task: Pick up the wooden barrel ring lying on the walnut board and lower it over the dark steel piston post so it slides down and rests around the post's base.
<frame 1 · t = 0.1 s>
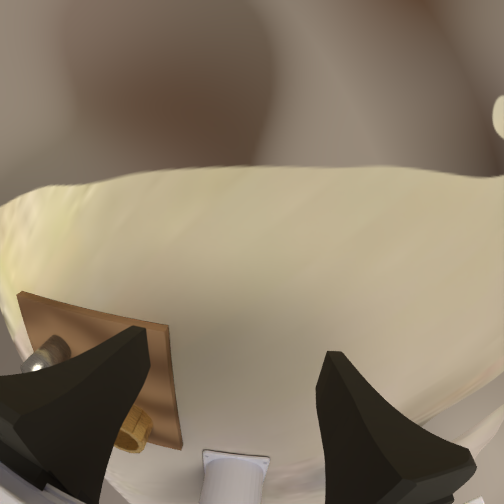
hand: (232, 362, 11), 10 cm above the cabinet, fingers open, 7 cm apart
wooden barrel ring: (130, 416, 25), point 1 cm above the cabinet, touching walnut board
steel piston: (65, 341, 24), resting on walnut board
walnut board: (98, 378, 25), on the cabinet
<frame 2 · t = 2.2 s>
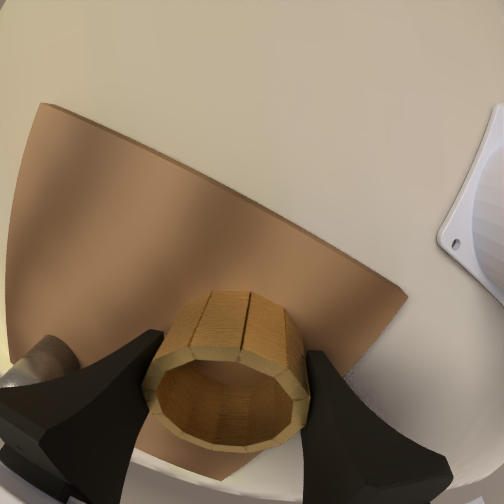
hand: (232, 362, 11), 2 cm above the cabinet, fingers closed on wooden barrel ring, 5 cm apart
wooden barrel ring: (235, 348, 11), point 1 cm above the cabinet, touching gripper, walnut board
steel piston: (68, 347, 14), resting on walnut board
walnut board: (137, 345, 13), on the cabinet
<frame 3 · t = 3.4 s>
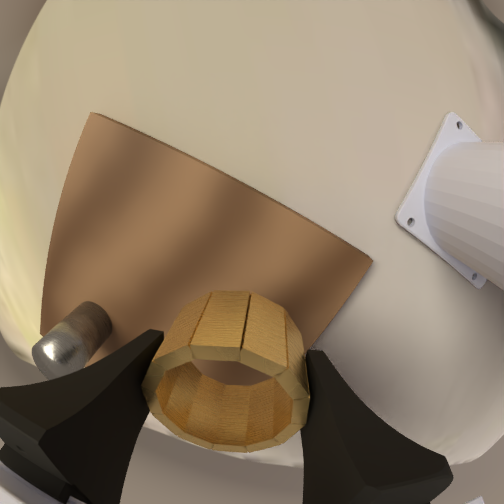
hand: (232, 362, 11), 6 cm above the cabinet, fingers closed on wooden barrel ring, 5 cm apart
wooden barrel ring: (235, 348, 11), point 5 cm above the cabinet, touching gripper
steel piston: (101, 313, 18), resting on walnut board
walnut board: (163, 305, 17), on the cabinet
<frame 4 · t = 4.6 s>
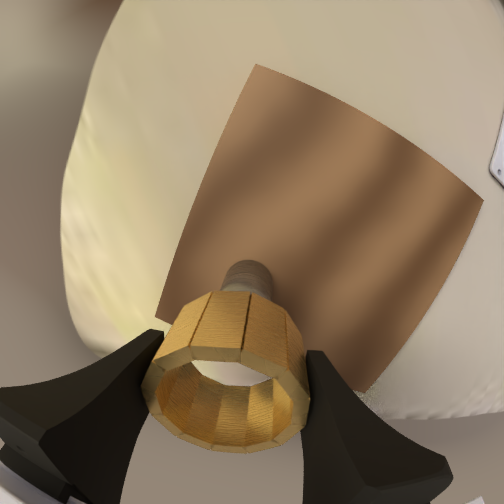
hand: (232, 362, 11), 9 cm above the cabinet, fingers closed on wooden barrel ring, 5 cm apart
wooden barrel ring: (235, 349, 11), point 8 cm above the cabinet, touching gripper
steel piston: (249, 276, 19), resting on walnut board
walnut board: (327, 254, 18), on the cabinet
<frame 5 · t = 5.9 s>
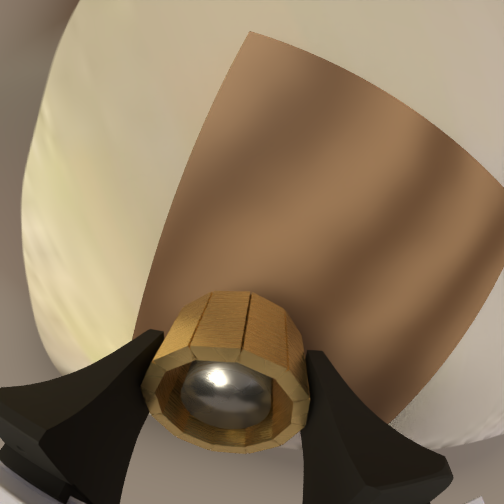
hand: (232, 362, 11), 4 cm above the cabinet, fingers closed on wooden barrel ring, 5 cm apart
wooden barrel ring: (235, 349, 11), point 3 cm above the cabinet, touching gripper
steel piston: (243, 310, 15), resting on walnut board
walnut board: (344, 283, 14), on the cabinet
when the fingers open (4 cm above the cabinet, at t = 7.0 s): wooden barrel ring drops 2 cm, resting on walnut board.
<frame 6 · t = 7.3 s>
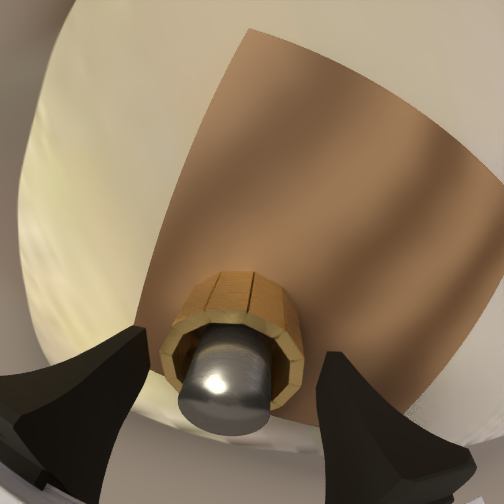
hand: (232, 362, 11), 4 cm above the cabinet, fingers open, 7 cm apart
wooden barrel ring: (239, 323, 13), point 1 cm above the cabinet, touching walnut board
steel piston: (242, 313, 14), resting on walnut board
walnut board: (345, 286, 13), on the cabinet
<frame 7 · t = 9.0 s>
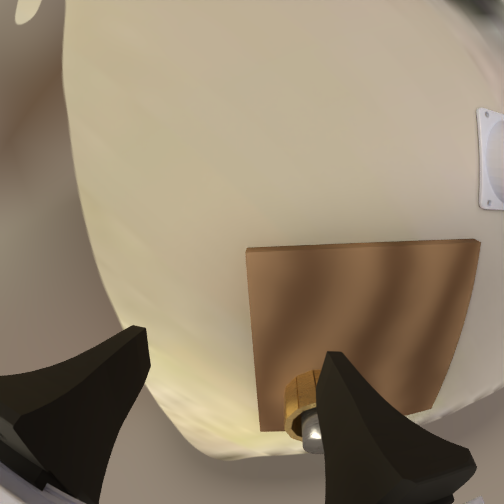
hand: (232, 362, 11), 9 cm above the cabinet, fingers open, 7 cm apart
wooden barrel ring: (316, 392, 21), point 1 cm above the cabinet, touching walnut board
steel piston: (315, 384, 22), resting on walnut board
walnut board: (366, 349, 21), on the cabinet
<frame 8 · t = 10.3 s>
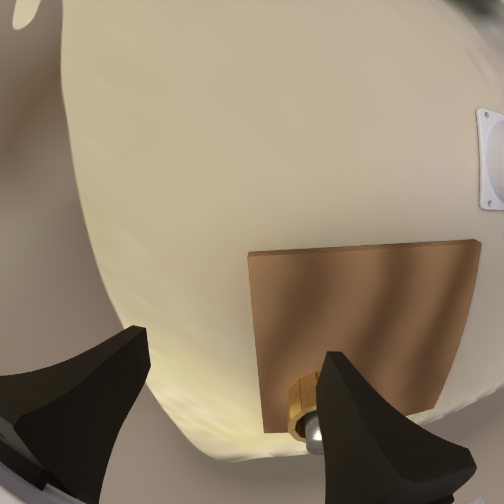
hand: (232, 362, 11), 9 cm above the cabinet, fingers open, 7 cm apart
wooden barrel ring: (319, 394, 21), point 1 cm above the cabinet, touching walnut board
steel piston: (318, 386, 22), resting on walnut board
walnut board: (368, 351, 21), on the cabinet
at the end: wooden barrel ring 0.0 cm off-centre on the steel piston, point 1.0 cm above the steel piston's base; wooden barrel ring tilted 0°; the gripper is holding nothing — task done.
